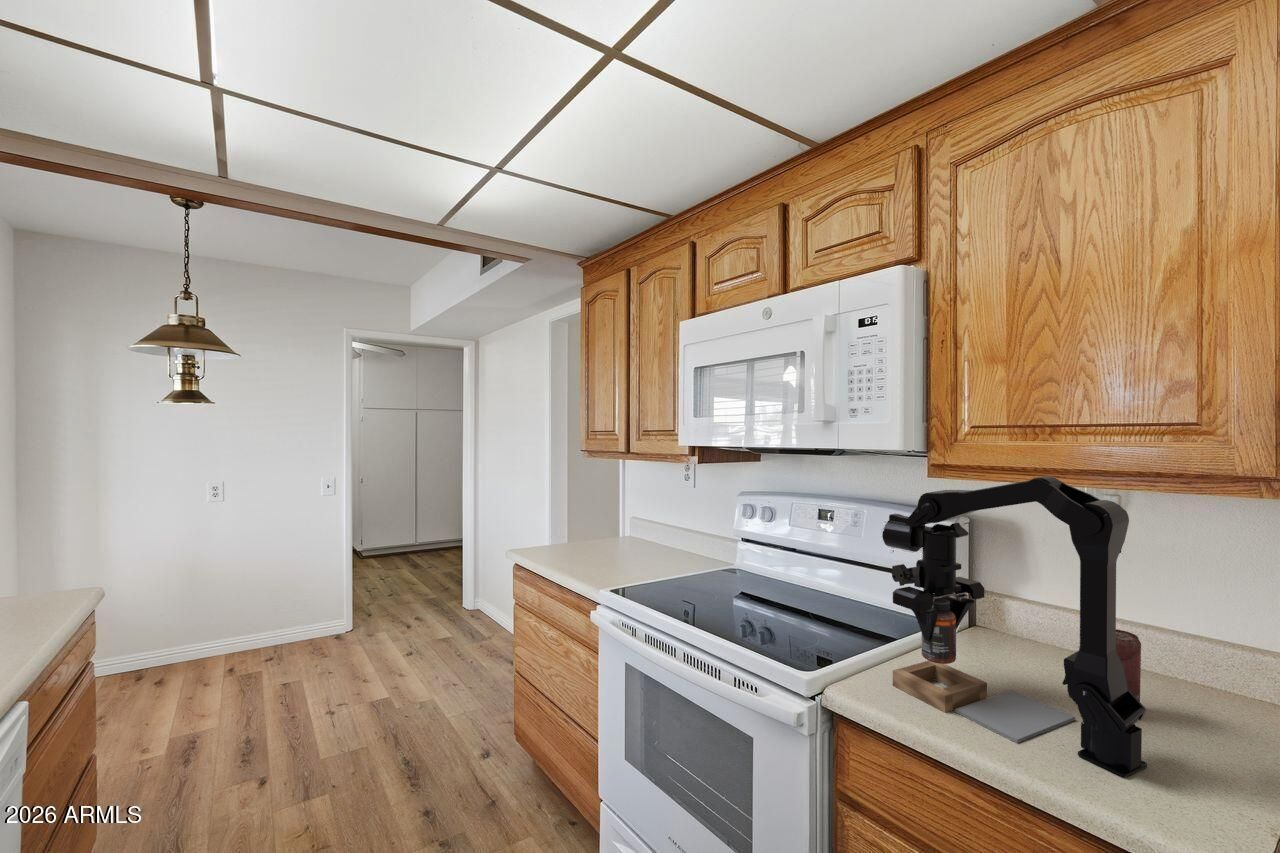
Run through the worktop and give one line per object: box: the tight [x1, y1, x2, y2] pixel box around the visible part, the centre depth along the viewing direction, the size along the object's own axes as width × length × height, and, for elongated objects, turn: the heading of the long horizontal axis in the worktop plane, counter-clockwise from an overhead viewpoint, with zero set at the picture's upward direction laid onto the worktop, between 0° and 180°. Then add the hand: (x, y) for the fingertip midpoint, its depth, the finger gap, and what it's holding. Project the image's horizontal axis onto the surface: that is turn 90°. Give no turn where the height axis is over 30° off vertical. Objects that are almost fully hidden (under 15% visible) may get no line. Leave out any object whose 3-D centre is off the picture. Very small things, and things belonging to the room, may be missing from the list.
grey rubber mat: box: [954, 689, 1076, 744], centre depth 105 cm, size 11×16×1 cm
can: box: [1116, 628, 1142, 703], centre depth 106 cm, size 6×6×14 cm
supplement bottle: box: [920, 598, 957, 665], centre depth 114 cm, size 6×6×11 cm
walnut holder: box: [892, 660, 988, 713], centre depth 114 cm, size 12×12×3 cm
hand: (938, 637), depth 114 cm, fingers closed on supplement bottle, 6 cm apart
